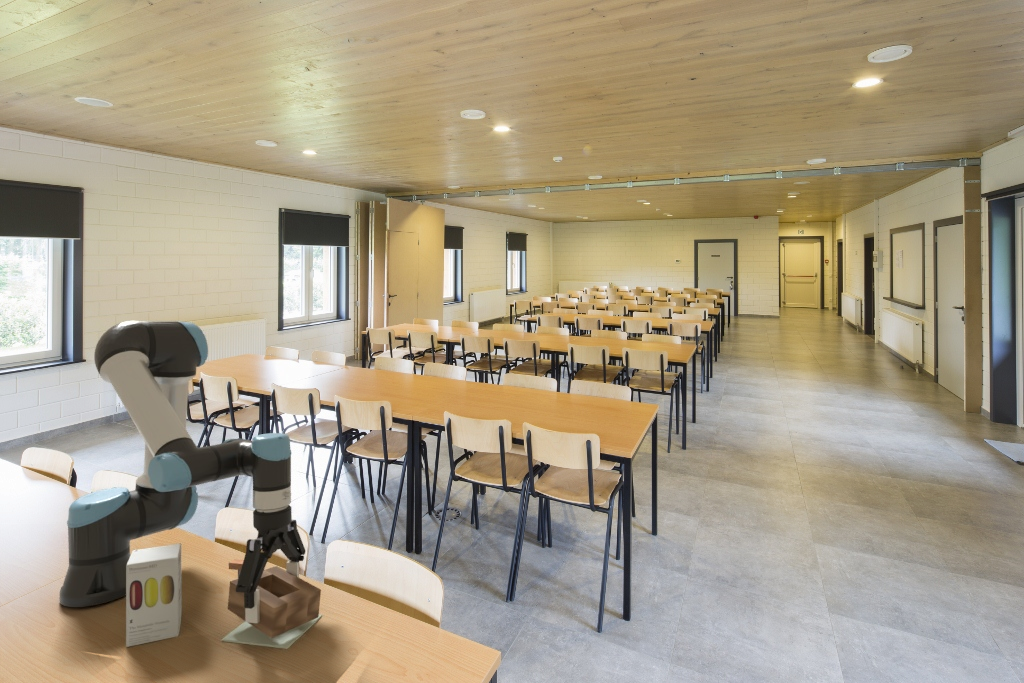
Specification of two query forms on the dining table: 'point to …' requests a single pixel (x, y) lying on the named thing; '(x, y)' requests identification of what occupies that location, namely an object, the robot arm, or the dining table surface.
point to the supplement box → (153, 594)
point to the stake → (236, 565)
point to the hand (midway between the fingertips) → (273, 606)
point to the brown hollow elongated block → (279, 601)
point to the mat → (256, 637)
